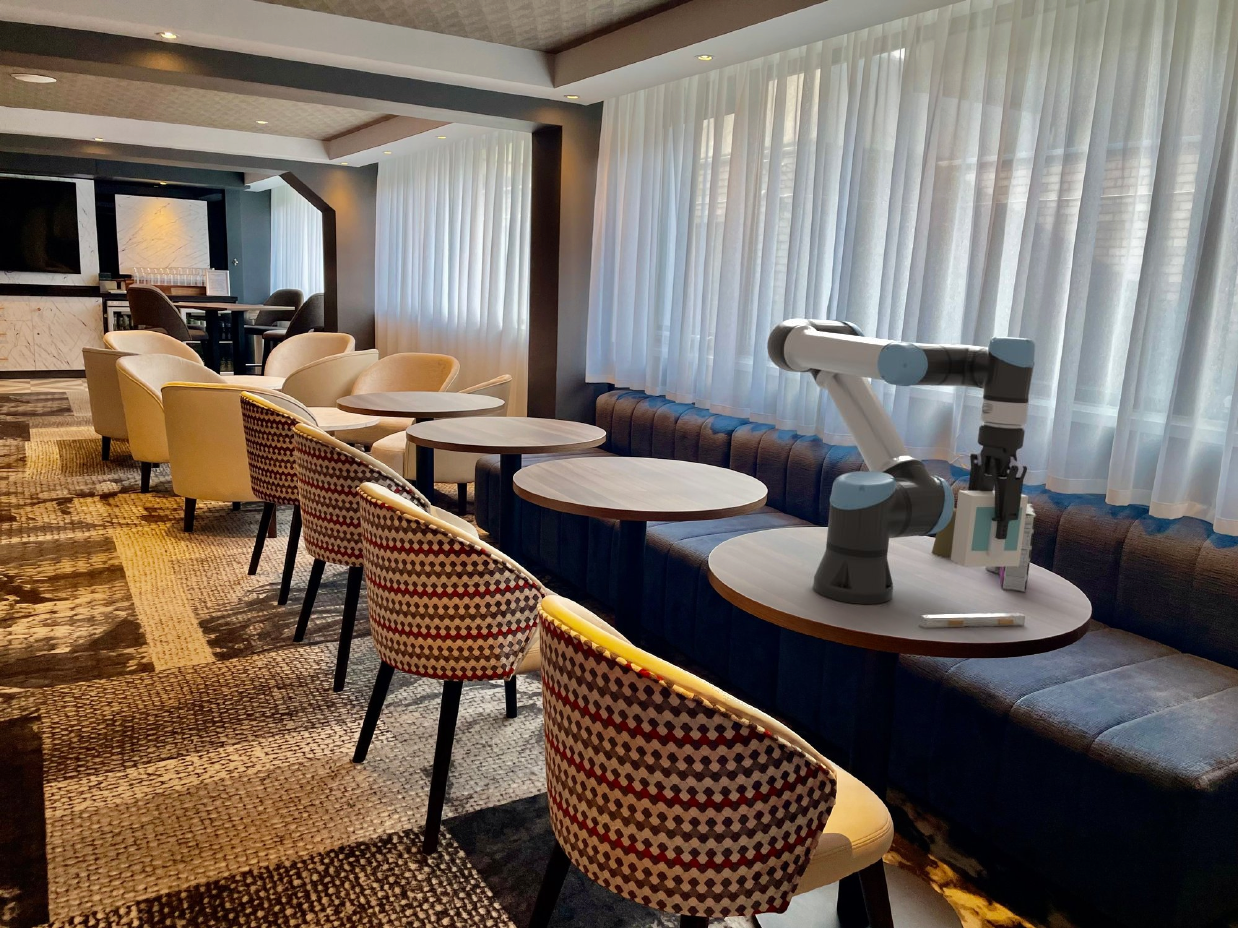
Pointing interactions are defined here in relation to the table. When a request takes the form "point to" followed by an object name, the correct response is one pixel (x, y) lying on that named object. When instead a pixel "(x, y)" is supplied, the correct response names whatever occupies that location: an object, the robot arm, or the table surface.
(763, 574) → the table surface
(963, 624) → the rail
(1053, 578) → the table surface
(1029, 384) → the robot arm
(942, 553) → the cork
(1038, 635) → the table surface
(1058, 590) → the table surface
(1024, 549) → the candy bar box
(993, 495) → the carton box
